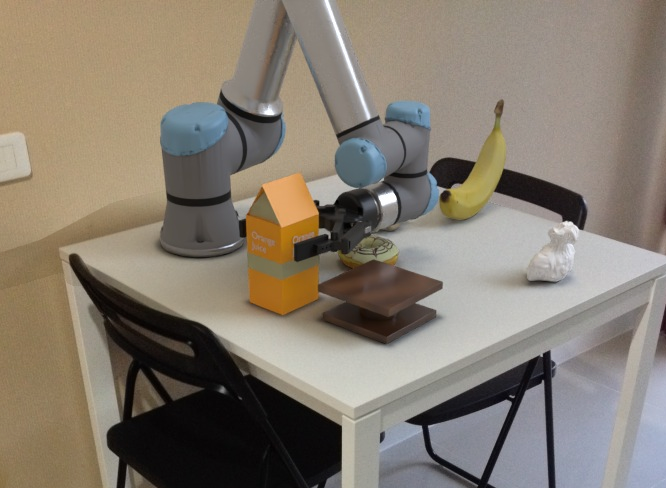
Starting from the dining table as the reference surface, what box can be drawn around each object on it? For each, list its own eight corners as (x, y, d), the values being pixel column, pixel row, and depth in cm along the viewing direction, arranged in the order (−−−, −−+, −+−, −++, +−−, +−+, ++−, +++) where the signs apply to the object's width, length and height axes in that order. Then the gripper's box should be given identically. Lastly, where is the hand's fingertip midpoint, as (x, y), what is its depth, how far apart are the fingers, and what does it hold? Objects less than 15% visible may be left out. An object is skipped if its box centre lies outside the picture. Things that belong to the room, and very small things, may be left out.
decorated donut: (376, 279, 169) (377, 258, 167) (326, 264, 174) (326, 244, 172) (408, 260, 176) (409, 240, 174) (359, 247, 181) (360, 227, 179)
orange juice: (248, 302, 160) (243, 179, 148) (285, 286, 166) (283, 166, 154) (283, 315, 156) (280, 190, 144) (320, 299, 162) (320, 177, 150)
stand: (317, 320, 155) (317, 284, 152) (372, 293, 164) (373, 259, 161) (387, 346, 148) (388, 309, 145) (440, 316, 157) (443, 281, 153)
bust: (531, 300, 168) (574, 261, 159) (505, 265, 169) (546, 224, 160) (567, 280, 176) (610, 241, 167) (542, 246, 176) (583, 206, 167)
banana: (454, 232, 188) (463, 124, 176) (428, 226, 191) (435, 119, 179) (507, 201, 203) (518, 100, 191) (482, 196, 206) (492, 95, 194)
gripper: (416, 252, 160) (320, 287, 148) (315, 213, 174) (220, 242, 162) (419, 207, 155) (320, 239, 143) (315, 170, 170) (217, 197, 158)
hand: (267, 240), depth 153 cm, fingers open, 13 cm apart
